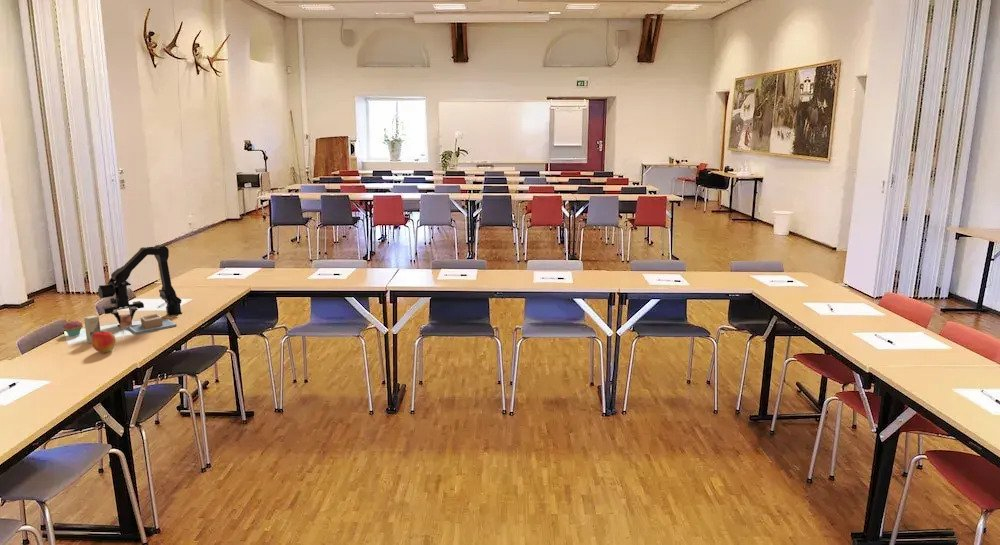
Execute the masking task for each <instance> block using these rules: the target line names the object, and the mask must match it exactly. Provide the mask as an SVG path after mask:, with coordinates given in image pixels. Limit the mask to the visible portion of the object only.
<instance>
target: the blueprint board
mask: <svg viewBox="0 0 1000 545" xmlns="http://www.w3.org/2000/svg"><path fill="white" fill-rule="evenodd" d="M177 326H178V325H177V323H175V322H173V321H172V320H171V319H169V318H165V319H163V318H162V315H159V314H158V313H154V314H148V315H142V316H140V323H139V324H134V325H133V324H132V325H128V326H127V329H128V330H129V331H131V332H132V333H133V334H134V335H138V334H145V333H149V332H155V331H160V330H165V329H169V328H175V327H177Z"/></svg>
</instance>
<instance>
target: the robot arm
mask: <svg viewBox="0 0 1000 545" xmlns="http://www.w3.org/2000/svg"><path fill="white" fill-rule="evenodd" d="M169 255H170V249H169V248H168V246H165V245H161V244H156V245H154V246H147V247H145V246H144V247H141V248H139V250H138V251H137V252H135V254H133V256H132V257H131V258H130V259H129V260H128V261H126V263H125V264H124V265H123V266H121V267H118V268H117V269H115V270H114V271H113V272H112V273H111V276H110V279H109V280H108V282H107V284H104V285H103V284H102V285H100V284H99V285H98V289H97V295H98V298H100V299H106V298H109V303H110V305H108V306H103V307H102V309H101V310H102V313H103V314H104V315H109V314H111V315H114V317H115V318H116V321H117V322H118V325H119V324H120V317H119V315H120V312H119V310H126V309H128V310H129V315H131V320H132V321H133V319H134V316H135V313H136V312H137V311H138V309H144V308H145V304H144V303H143V302H142V301H141V300H137V301H133V302H132V303H130V301H129V294H128V286H131V285H132V283H130V282H128V281H127V280H129V279H128V278H130V275H131V273H132V271H133V270H134V269H135V268H136V267H137V266H138V265H139V264H140V263H141V262H143V260H144V259H145V258H146V257H147V256H154V258H155V260H156V261H157V264H158V269H159V270H158V271H159V275H160V280H161V286H162V287H161V289H158V292H159V297H160V298H161V300H163V301H164V302H165V303H166V306H165V310H166V314H167V315H168V316H175V315H181V314H183V312H182V309H181V303H182V299H181V298H180V297H179V296H177V293H176V290H175V289H174V287H173V286H172V282H171V275H170V269H169V263H168V259H169V257H170V256H169ZM114 296H115V297H114ZM111 305H114V306H111Z"/></svg>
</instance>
